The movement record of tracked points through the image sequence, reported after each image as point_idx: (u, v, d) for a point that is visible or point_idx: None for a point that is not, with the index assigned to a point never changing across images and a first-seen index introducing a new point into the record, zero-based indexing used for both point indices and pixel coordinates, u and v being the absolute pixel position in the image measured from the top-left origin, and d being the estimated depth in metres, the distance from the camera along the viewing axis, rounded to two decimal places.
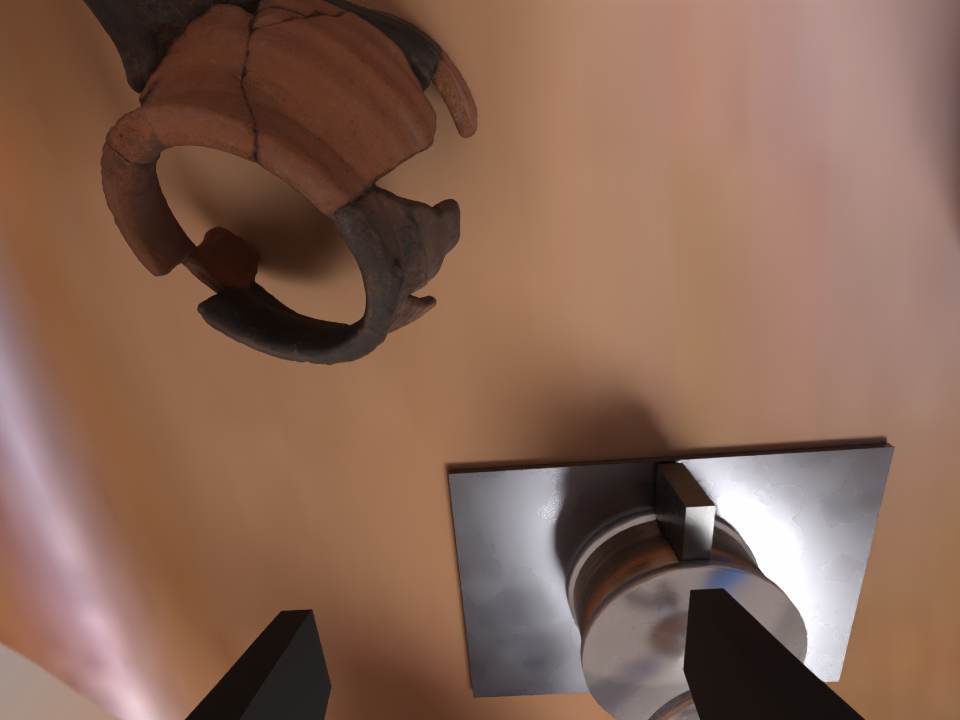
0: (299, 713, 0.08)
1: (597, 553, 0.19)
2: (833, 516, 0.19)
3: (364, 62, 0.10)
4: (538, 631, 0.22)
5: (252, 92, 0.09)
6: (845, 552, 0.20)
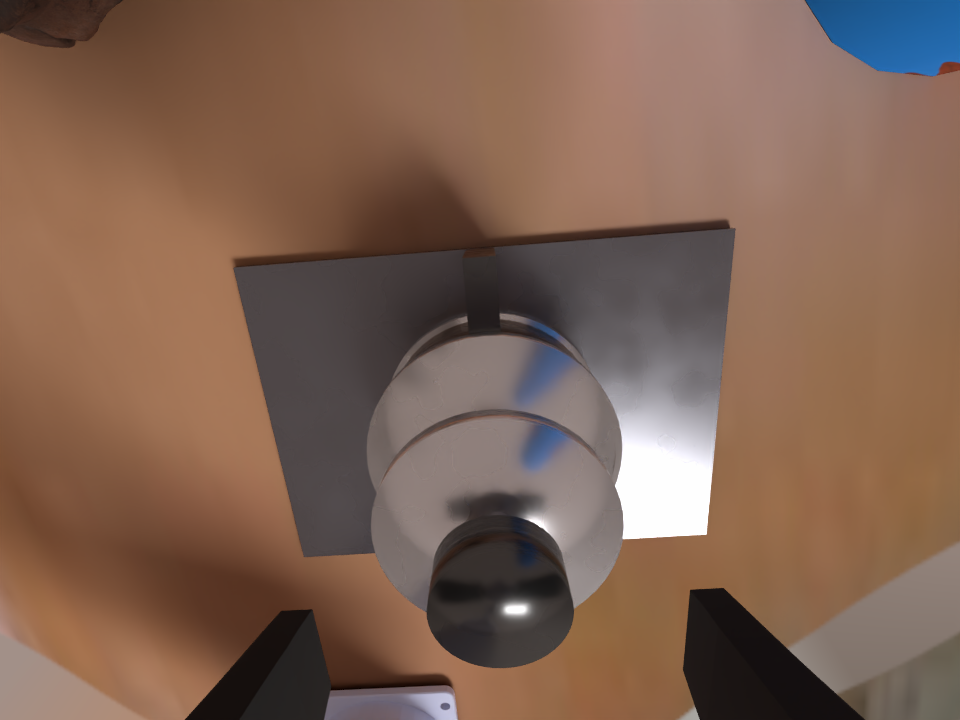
0: (299, 713, 0.08)
1: (407, 362, 0.17)
2: (676, 321, 0.17)
3: None
4: (364, 472, 0.19)
5: None
6: (695, 368, 0.18)
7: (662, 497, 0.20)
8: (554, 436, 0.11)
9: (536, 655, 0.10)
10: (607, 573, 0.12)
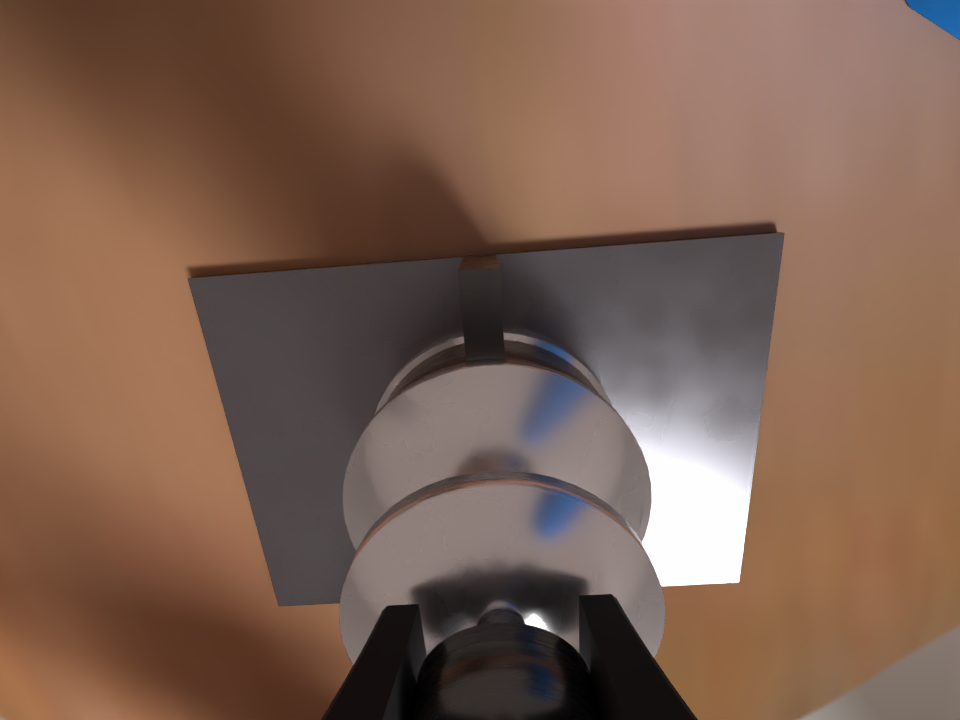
0: None
1: (394, 389, 0.14)
2: (711, 341, 0.15)
3: None
4: None
5: None
6: (731, 395, 0.15)
7: (690, 541, 0.17)
8: (577, 509, 0.08)
9: None
10: None
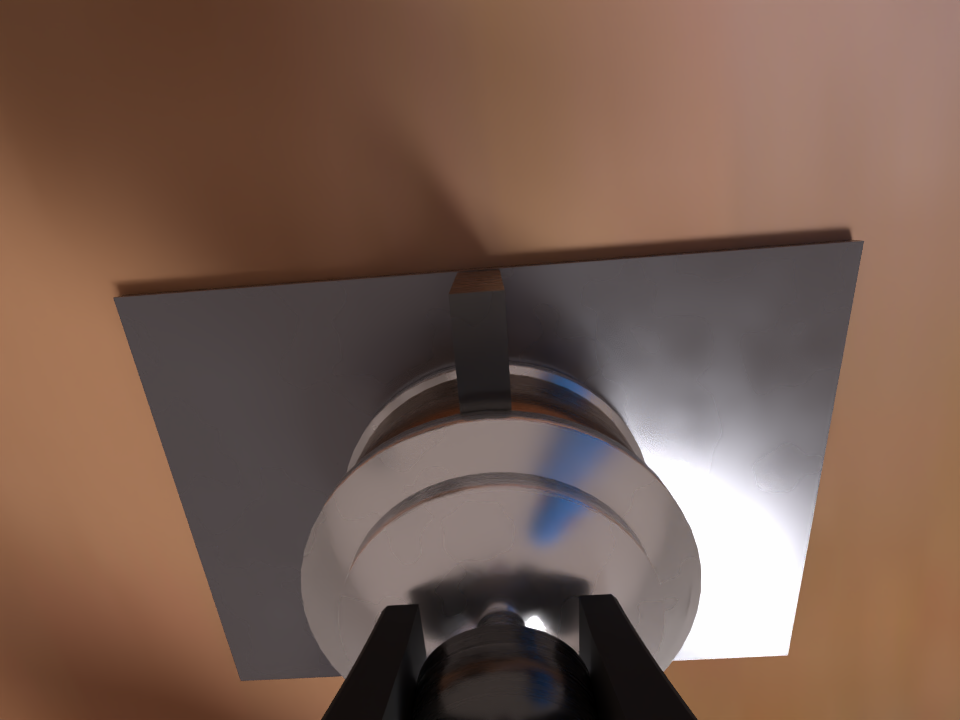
0: None
1: (372, 435, 0.12)
2: (766, 375, 0.12)
3: None
4: None
5: None
6: (788, 440, 0.12)
7: (731, 609, 0.14)
8: (577, 512, 0.08)
9: None
10: None
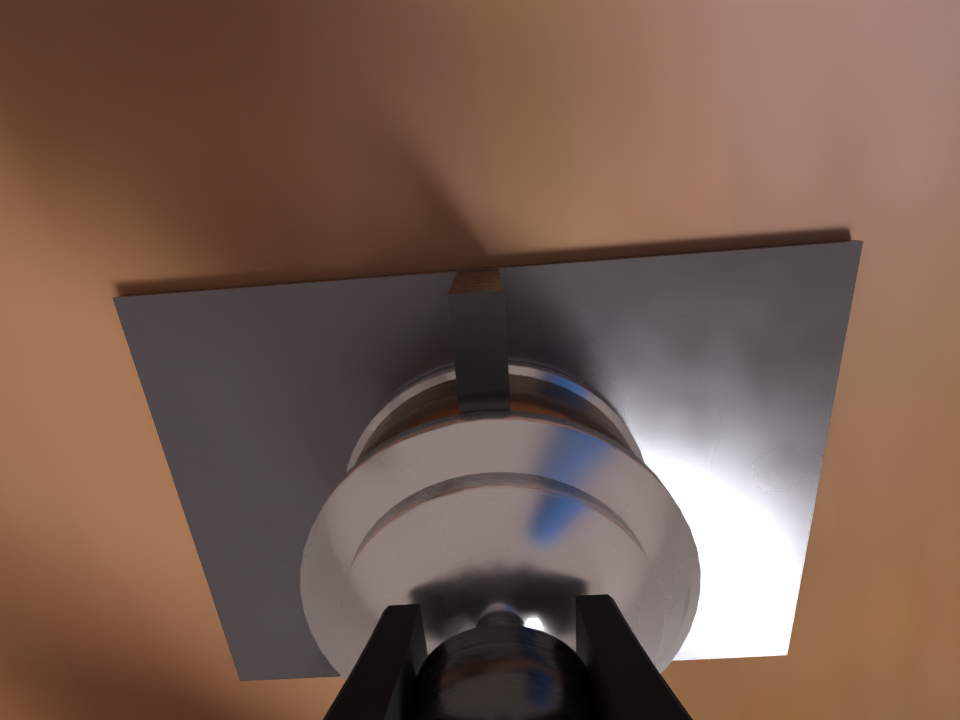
0: None
1: (371, 435, 0.12)
2: (765, 375, 0.12)
3: None
4: None
5: None
6: (787, 440, 0.12)
7: (730, 609, 0.14)
8: (576, 512, 0.08)
9: None
10: None
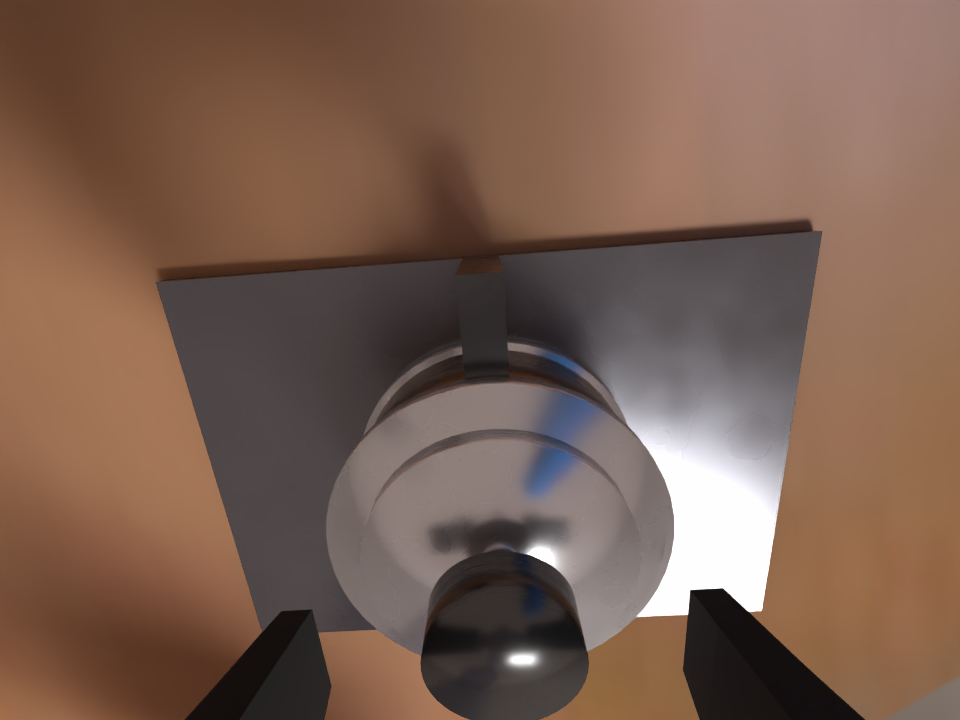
0: (299, 713, 0.08)
1: (385, 405, 0.13)
2: (737, 351, 0.13)
3: None
4: None
5: None
6: (758, 411, 0.14)
7: (709, 568, 0.16)
8: (564, 461, 0.10)
9: (545, 711, 0.09)
10: (622, 608, 0.11)
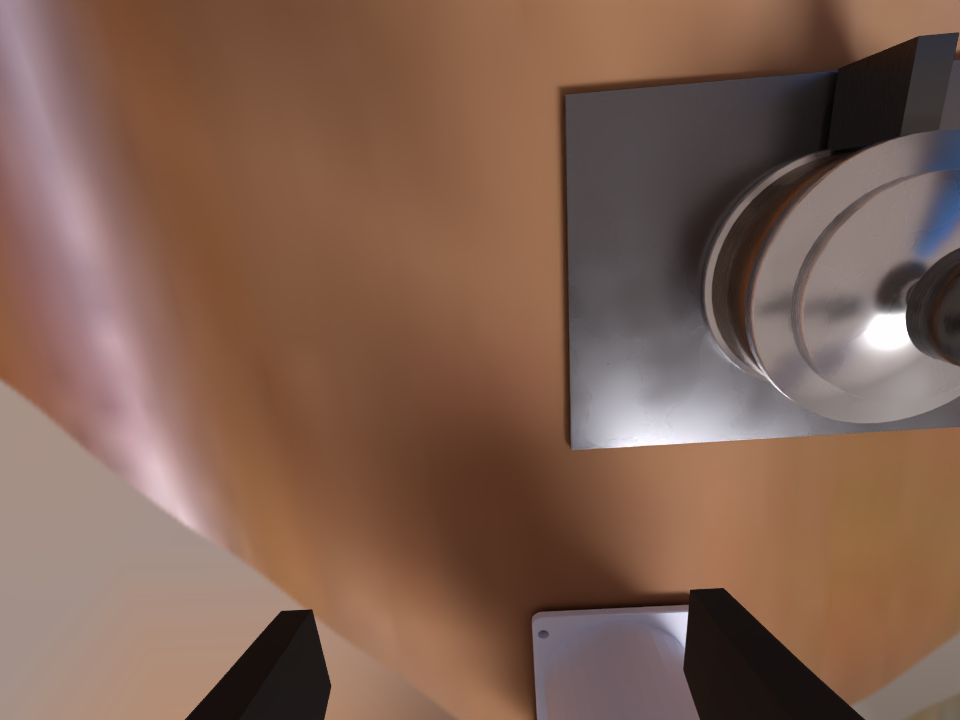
0: (299, 713, 0.08)
1: (752, 204, 0.15)
2: None
3: None
4: (659, 347, 0.17)
5: None
6: None
7: None
8: None
9: None
10: None
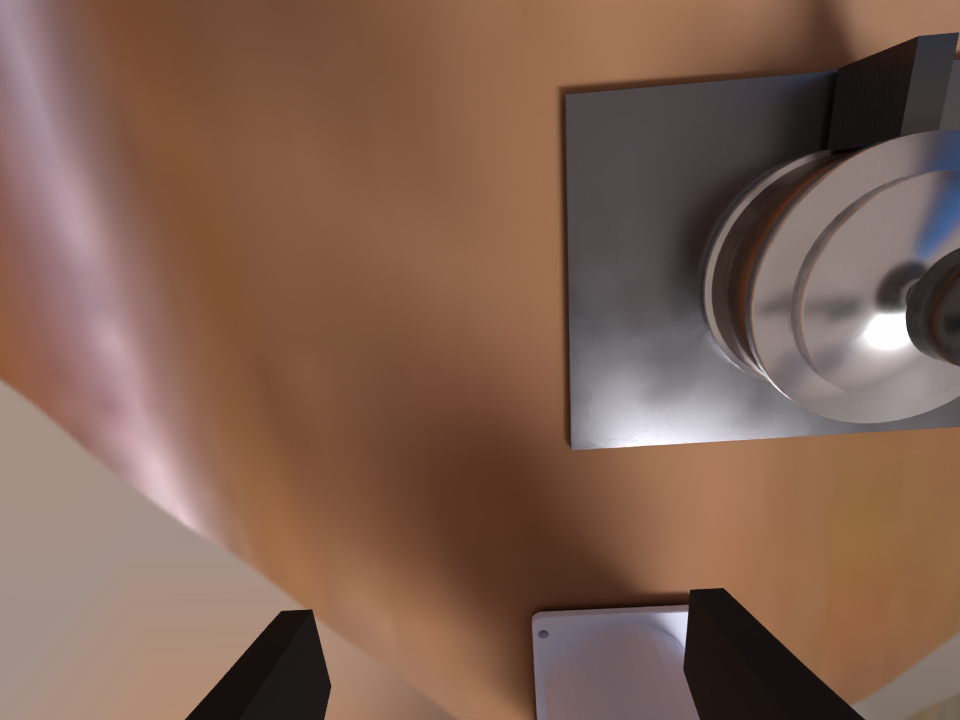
0: (299, 713, 0.08)
1: (752, 204, 0.15)
2: None
3: None
4: (659, 347, 0.17)
5: None
6: None
7: None
8: None
9: None
10: None
